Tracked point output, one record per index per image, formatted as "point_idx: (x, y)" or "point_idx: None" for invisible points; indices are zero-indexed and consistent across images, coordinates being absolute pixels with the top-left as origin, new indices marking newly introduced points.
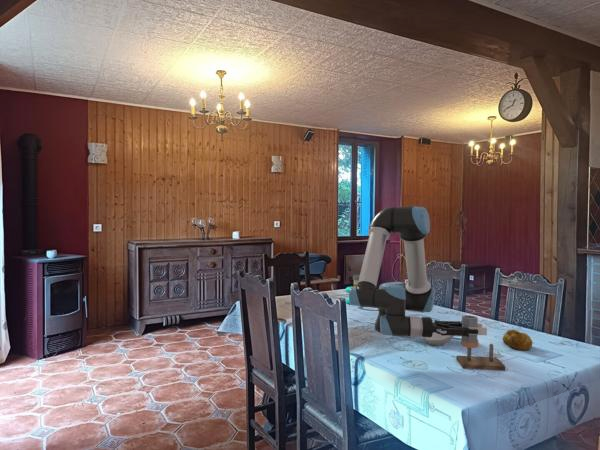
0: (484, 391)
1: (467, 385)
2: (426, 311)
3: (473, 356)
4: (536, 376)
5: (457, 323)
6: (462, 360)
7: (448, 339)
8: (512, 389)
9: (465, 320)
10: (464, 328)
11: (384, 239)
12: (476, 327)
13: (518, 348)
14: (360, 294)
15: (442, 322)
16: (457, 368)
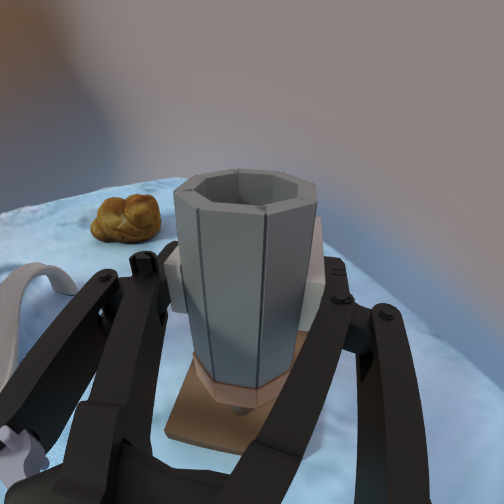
0: (497, 426)
1: (474, 471)
2: None
3: (193, 368)
4: None
5: (150, 307)
6: (242, 438)
7: (18, 352)
8: (457, 358)
9: (288, 237)
10: (350, 320)
11: None
12: (315, 246)
13: (151, 235)
14: None
15: (98, 465)
16: (299, 485)
